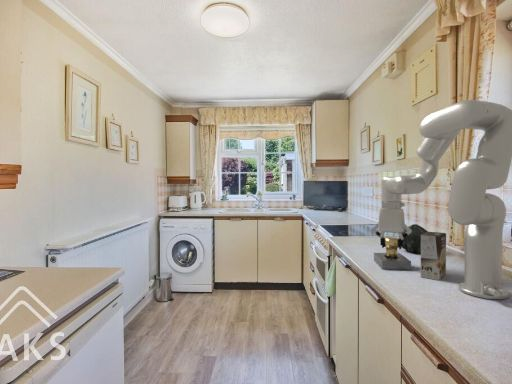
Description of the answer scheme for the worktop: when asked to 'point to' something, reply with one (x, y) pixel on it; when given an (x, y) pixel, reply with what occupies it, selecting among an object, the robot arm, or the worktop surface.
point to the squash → (413, 239)
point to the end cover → (391, 246)
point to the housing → (392, 262)
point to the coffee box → (433, 255)
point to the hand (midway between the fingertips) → (391, 247)
